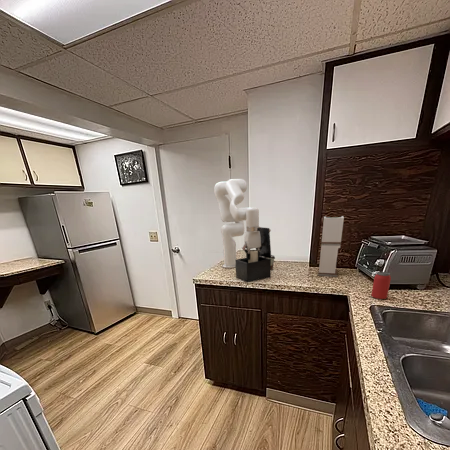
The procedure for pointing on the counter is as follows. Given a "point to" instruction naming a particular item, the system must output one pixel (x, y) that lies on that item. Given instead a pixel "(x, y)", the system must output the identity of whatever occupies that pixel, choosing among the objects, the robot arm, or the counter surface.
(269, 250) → the black box lid
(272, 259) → the food container
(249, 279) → the black lidded box
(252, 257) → the cup
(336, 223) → the stepped grey pillar
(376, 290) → the beer can
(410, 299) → the counter surface
